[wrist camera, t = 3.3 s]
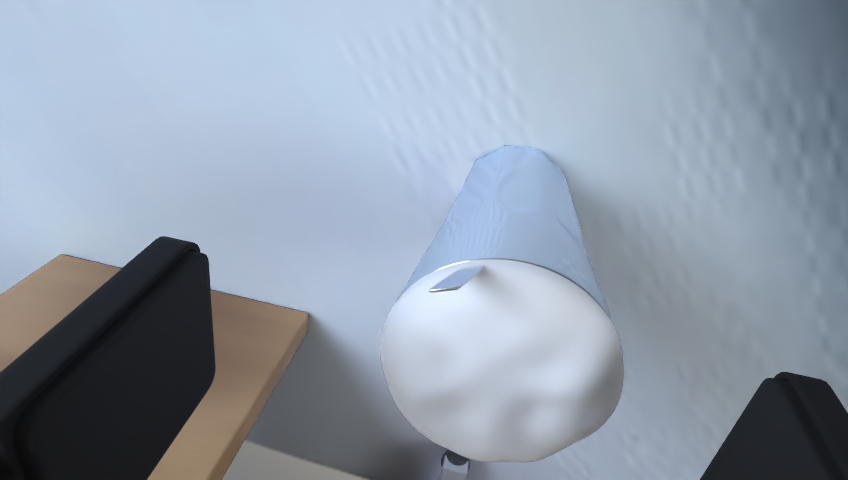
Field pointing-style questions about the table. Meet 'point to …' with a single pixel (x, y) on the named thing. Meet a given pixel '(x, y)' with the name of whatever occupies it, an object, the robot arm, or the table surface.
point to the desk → (233, 343)
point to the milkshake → (505, 321)
